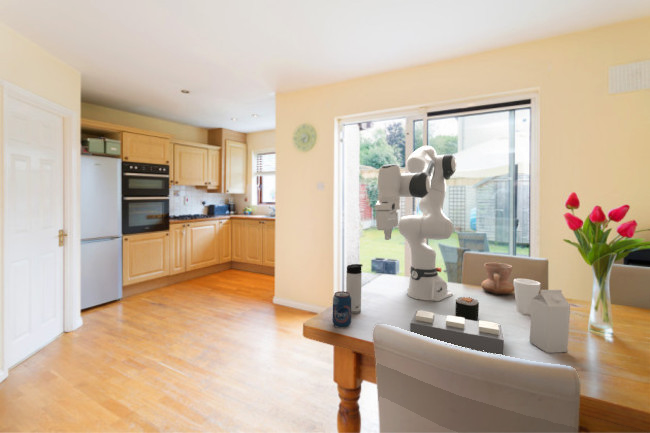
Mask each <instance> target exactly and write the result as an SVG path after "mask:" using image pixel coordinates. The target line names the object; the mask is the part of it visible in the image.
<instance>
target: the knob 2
mask: <svg viewBox="0 0 650 433" xmlns="http://www.w3.org/2000/svg"><path fill="white" fill-rule="evenodd" d="M478 321H479V331H480V332H485V333H491V334H497V335H499V327H498V325H499V324H498V323H497V322H492V321H487V320H486V321H485V320H480V319H478Z"/></svg>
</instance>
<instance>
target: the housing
mask: <svg viewBox="0 0 650 433" xmlns="http://www.w3.org/2000/svg"><path fill="white" fill-rule="evenodd" d="M417 312H418V310H417V311H415V313H414V315H413V317H412V319H411V320H410V323H409V332H410V331H411V332H414V333H417V334H420V335H423V336H427V337H430V338H433V339H437V340H440V341H444V342H447V343H451V344H454V345H458V346H462V347H467V348H471V349H470V350H472V349H475V350H474V351H477V350H480V351H479V352H482V351H483V350H484V351H485V352H484V353H486V352H490V353H489V354H491V353H496V354H502V355H503V356H504V351H505V350H504V348H505V346H504V345H505V338H504V333H503V328H502V325H501V324H498V327H499V335H497V334H491V333H485V332H480V331H479V320H478V321H473V320H467V319H465V323H464V329H463V328H458V327H452V326H446V319H447V315H441V314H436V313H434V319H433V322H432V323H430V322H424V321H418V320H416V314H417ZM462 347H461V348H462ZM467 348H466V349H467ZM496 354H495V355H496Z"/></svg>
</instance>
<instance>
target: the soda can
mask: <svg viewBox="0 0 650 433" xmlns="http://www.w3.org/2000/svg"><path fill="white" fill-rule="evenodd" d="M351 323H352V314H351V297H350V293H348V292H346V291H342V290H341V291H336V292H334V295H333V297H332V324H333V325H334V327H336V328H339V329H345V328H346V329H347V328H348V327H349V326H350V325H351Z"/></svg>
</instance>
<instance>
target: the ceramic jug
mask: <svg viewBox="0 0 650 433" xmlns="http://www.w3.org/2000/svg"><path fill="white" fill-rule="evenodd" d="M484 270H485V272H486V275H487V277H488V278H487V279H485V280H483V281H482V282H481V288H482V289H483V290H484V291H486V292H487V293H491V294H494V295H499V296H501V295H504V296H505V295H510V294H512V293H513V292H515V289H514V284H513V283H512V282H510V281H509V280H508V279H509V277H510V275H511V273H512V270H513V266H512V265H510V264H508V263H503V262H501V263H500V262H492V261H491V262H486V263H484Z"/></svg>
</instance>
